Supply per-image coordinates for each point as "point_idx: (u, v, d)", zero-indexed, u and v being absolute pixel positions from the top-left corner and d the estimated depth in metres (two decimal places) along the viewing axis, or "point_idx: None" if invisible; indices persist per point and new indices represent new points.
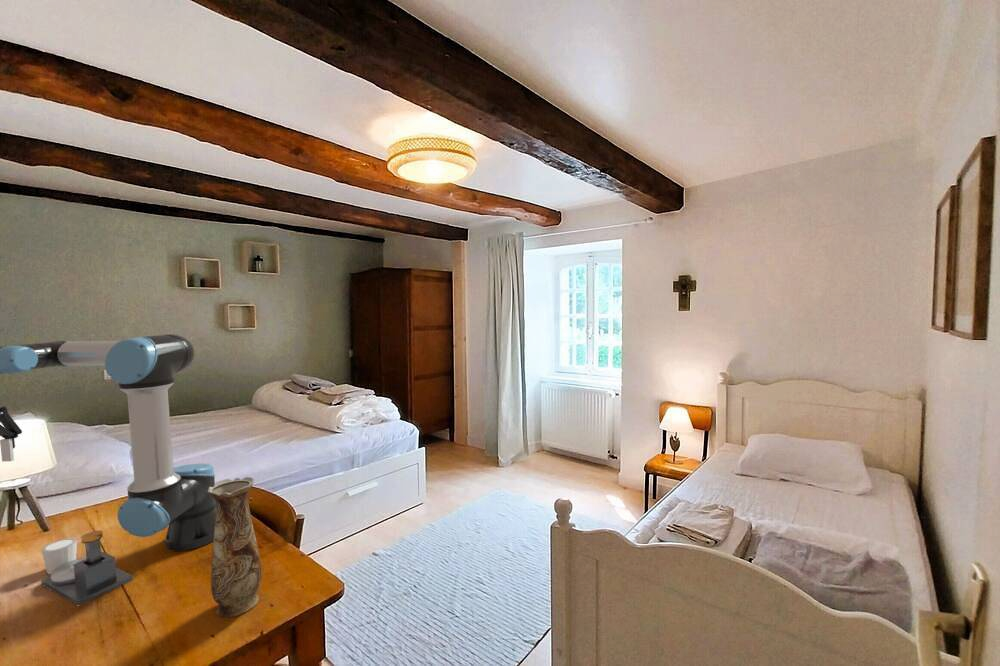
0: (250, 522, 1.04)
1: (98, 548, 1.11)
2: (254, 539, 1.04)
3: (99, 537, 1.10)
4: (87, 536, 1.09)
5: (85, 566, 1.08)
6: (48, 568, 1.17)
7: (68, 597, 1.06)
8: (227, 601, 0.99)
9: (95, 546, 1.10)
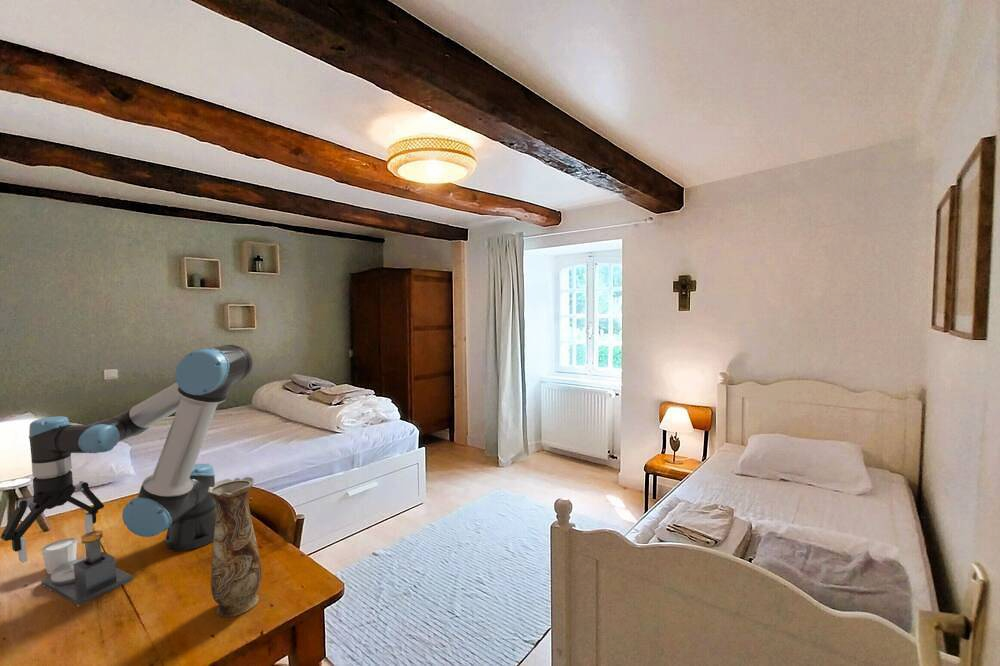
0: (250, 522, 1.04)
1: (98, 548, 1.11)
2: (254, 539, 1.04)
3: (99, 537, 1.10)
4: (87, 536, 1.09)
5: (85, 566, 1.08)
6: (48, 568, 1.17)
7: (68, 597, 1.06)
8: (227, 601, 0.99)
9: (95, 546, 1.10)
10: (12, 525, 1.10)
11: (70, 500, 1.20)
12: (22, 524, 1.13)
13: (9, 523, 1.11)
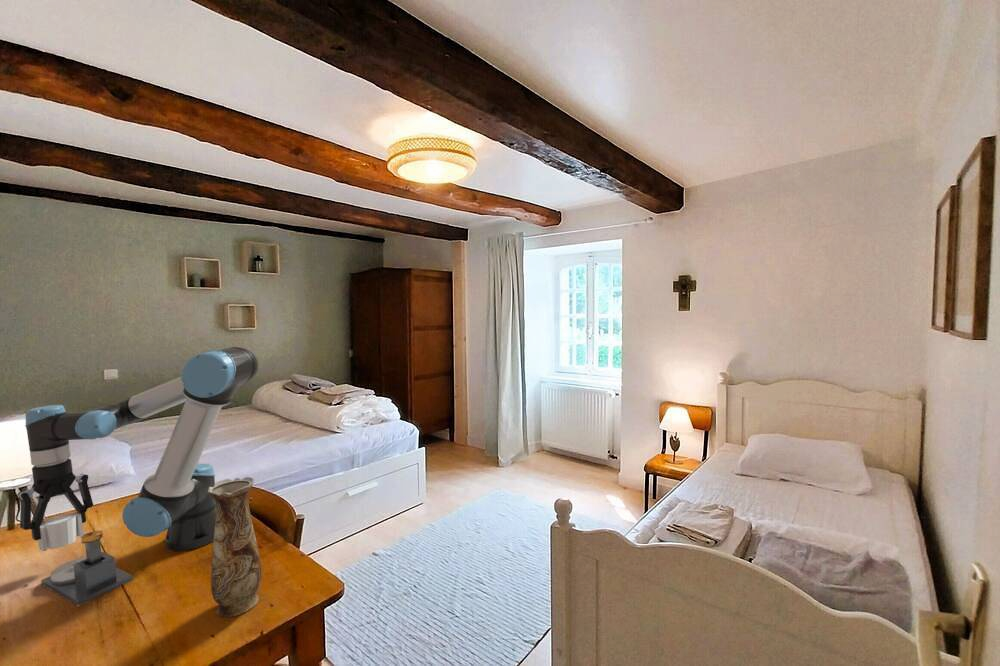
0: (250, 522, 1.04)
1: (98, 548, 1.11)
2: (254, 539, 1.04)
3: (99, 537, 1.10)
4: (87, 536, 1.09)
5: (85, 566, 1.08)
6: (48, 542, 1.16)
7: (68, 597, 1.06)
8: (227, 601, 0.99)
9: (95, 546, 1.10)
10: (24, 516, 1.12)
11: (67, 491, 1.19)
12: (35, 514, 1.15)
13: (21, 514, 1.12)
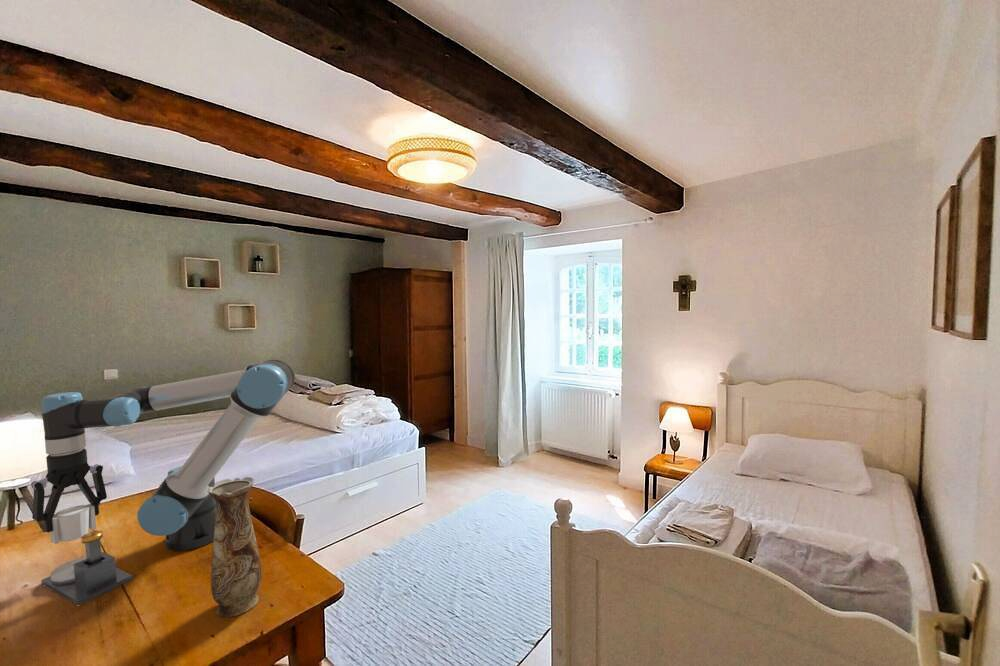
0: (250, 522, 1.04)
1: (98, 548, 1.11)
2: (254, 539, 1.04)
3: (99, 537, 1.10)
4: (87, 536, 1.09)
5: (85, 566, 1.08)
6: (60, 535, 1.12)
7: (68, 597, 1.06)
8: (227, 601, 0.99)
9: (95, 546, 1.10)
10: (37, 507, 1.07)
11: (81, 482, 1.15)
12: (48, 505, 1.10)
13: (34, 505, 1.08)
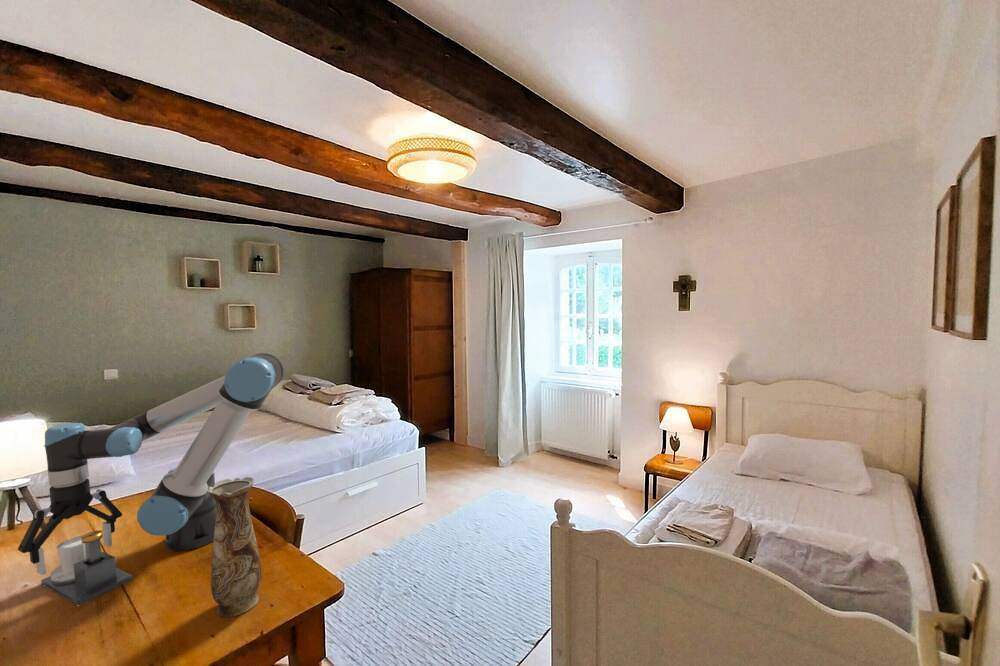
0: (250, 522, 1.04)
1: (98, 548, 1.11)
2: (254, 539, 1.04)
3: (99, 537, 1.10)
4: (87, 536, 1.09)
5: (85, 566, 1.08)
6: (63, 566, 1.12)
7: (68, 597, 1.06)
8: (227, 601, 0.99)
9: (95, 546, 1.10)
10: (29, 536, 1.06)
11: (88, 509, 1.16)
12: (40, 535, 1.09)
13: (26, 534, 1.07)
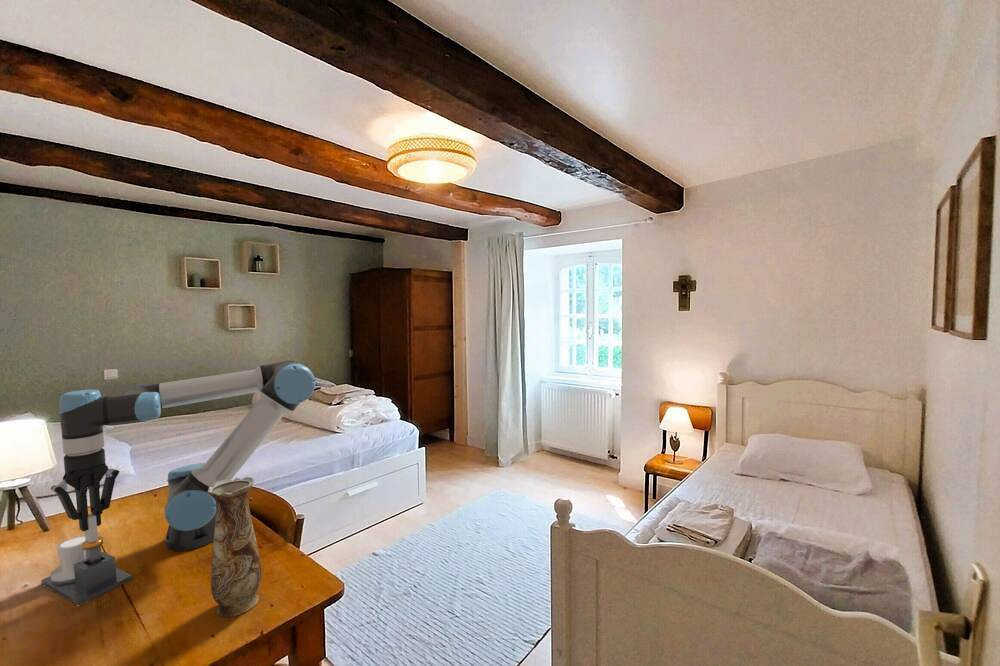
0: (250, 522, 1.04)
1: (99, 554, 1.11)
2: (254, 539, 1.04)
3: (100, 543, 1.10)
4: (87, 543, 1.10)
5: (85, 566, 1.08)
6: (63, 566, 1.12)
7: (68, 597, 1.06)
8: (227, 601, 0.99)
9: (95, 552, 1.10)
10: (68, 508, 1.05)
11: (95, 484, 1.10)
12: (78, 505, 1.08)
13: (64, 506, 1.06)
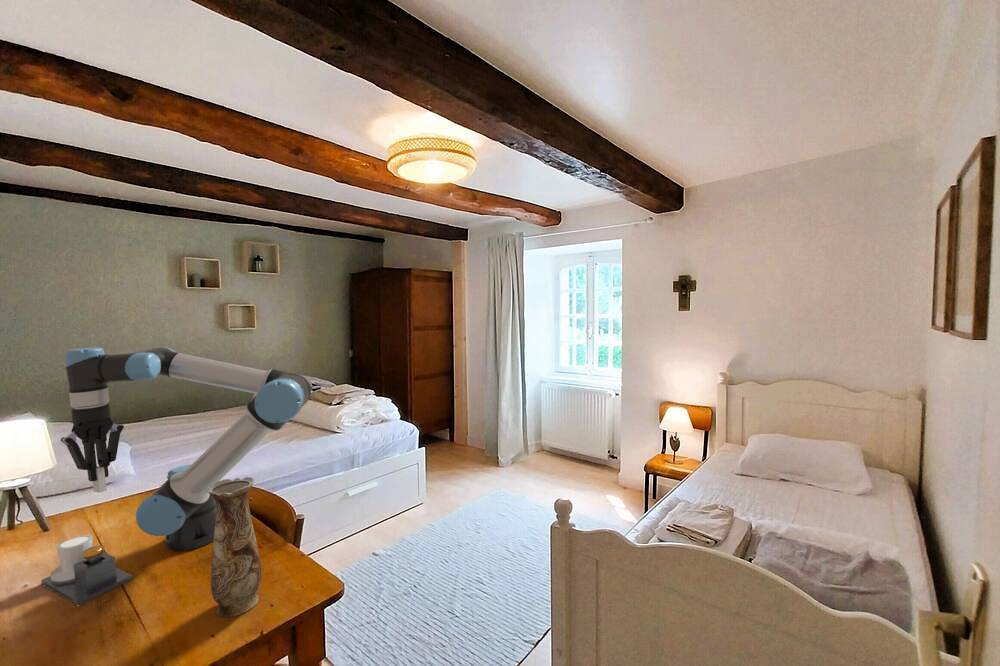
0: (250, 522, 1.04)
1: None
2: (254, 539, 1.04)
3: (100, 552, 1.11)
4: (88, 551, 1.10)
5: (85, 566, 1.08)
6: (63, 566, 1.12)
7: (68, 597, 1.06)
8: (227, 601, 0.99)
9: (96, 561, 1.10)
10: (78, 458, 1.11)
11: (102, 437, 1.15)
12: (87, 457, 1.13)
13: (74, 457, 1.11)
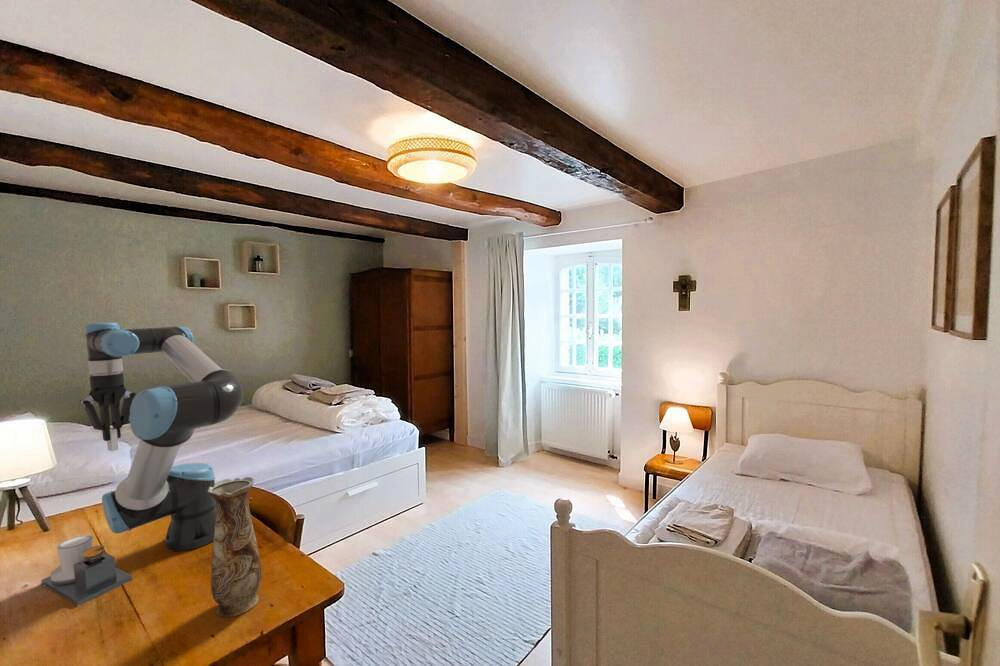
0: (250, 522, 1.04)
1: None
2: (254, 539, 1.04)
3: (100, 552, 1.11)
4: (88, 551, 1.10)
5: (85, 566, 1.08)
6: (63, 566, 1.12)
7: (68, 597, 1.06)
8: (227, 601, 0.99)
9: (96, 561, 1.10)
10: (93, 419, 1.25)
11: (116, 402, 1.29)
12: (102, 419, 1.28)
13: (90, 418, 1.26)
